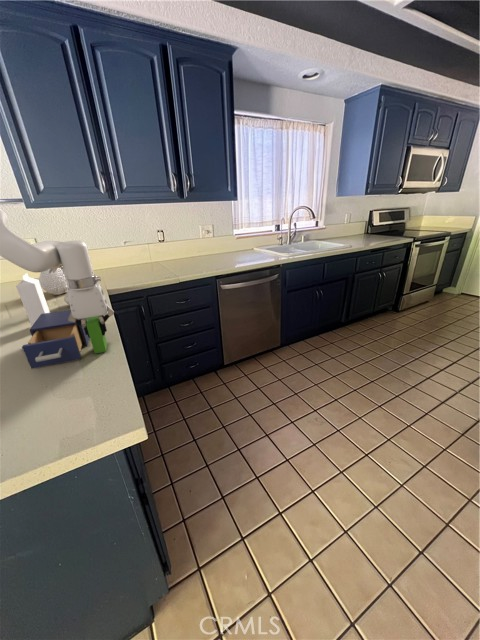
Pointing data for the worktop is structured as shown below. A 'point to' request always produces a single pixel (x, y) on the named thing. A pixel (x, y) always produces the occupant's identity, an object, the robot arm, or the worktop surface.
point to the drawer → (54, 346)
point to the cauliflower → (53, 282)
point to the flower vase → (65, 278)
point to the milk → (32, 298)
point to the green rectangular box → (96, 335)
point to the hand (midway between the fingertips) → (97, 334)
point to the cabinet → (57, 323)
